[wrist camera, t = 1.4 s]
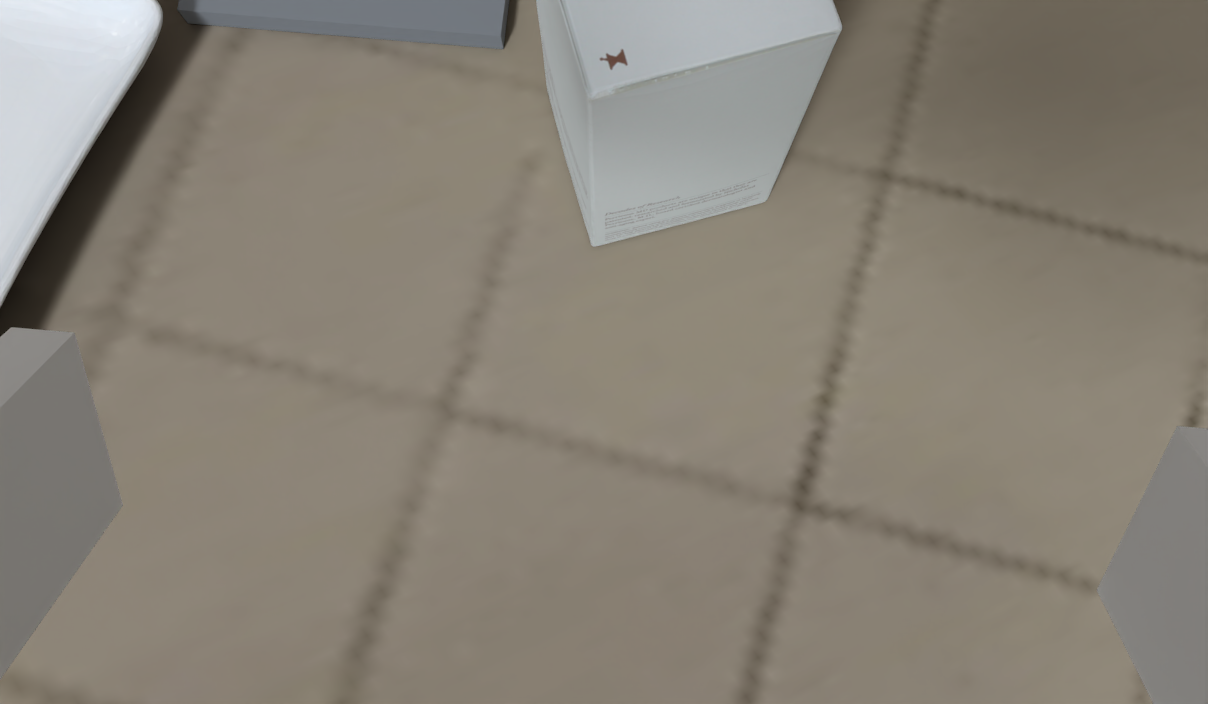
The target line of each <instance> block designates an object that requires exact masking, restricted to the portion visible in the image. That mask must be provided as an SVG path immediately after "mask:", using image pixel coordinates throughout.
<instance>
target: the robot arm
mask: <svg viewBox="0 0 1208 704" xmlns="http://www.w3.org/2000/svg"><path fill="white" fill-rule="evenodd" d="M122 506H123V504H122V500H121V497H120V493H119V489H118V486H117V482H116V479H115V475H114V472H113V468H112V464H111V461H110V457H109V454H108V450H107V447H106V443H105V440H104V436H103V432H102V429H101V425H100V422H99V418H98V415H97V411H96V407H95V404H94V400H93V397H92V393H91V390H90V386H89V383H88V379H87V375H86V372H85V368H84V365H83V361H82V358H81V354H80V351H79V347H78V343H77V340H76V336H75V333H73V332H61V331H49V330H38V329H26V328H14V327H11V328H10V329H9V330H8V331H6V332H5V333H4V334H3V335H2V336H1V337H0V679H1V678H2V676H3V675H4V673H5V672H6V671H7V669H8V668H9V666H10V665H11V663H12V662H13V661H14V659H15V658H16V656H17V655H18V654H19V652H20V651H21V649H22V648H23V646H24V645H25V644H26V642H27V641H28V639H29V638H30V637H31V635H32V634H33V632H34V631H35V629H36V628H37V627H38V625H39V624H40V622H41V621H42V619H43V618H44V617H45V615H46V614H47V612H48V611H49V610H50V608H51V607H52V605H53V604H54V602H55V601H56V600H57V598H58V597H59V595H60V594H61V593H62V591H63V590H64V588H65V587H66V585H67V584H68V583H69V581H70V580H71V578H72V577H73V575H74V574H75V573H76V571H77V570H78V568H79V567H80V566H81V564H82V563H83V561H84V560H85V558H86V557H87V556H88V554H89V553H90V551H91V550H92V549H93V547H94V546H95V544H96V543H97V541H98V540H99V539H100V537H101V536H102V534H103V533H104V531H105V530H106V529H107V527H108V526H109V524H110V523H111V522H112V520H113V519H114V517H115V516H116V514H117V513H118V512H119V510H120V509H121V507H122ZM1097 592H1098V594H1099V596H1100V598H1101V600H1102V602H1103V604H1104V606H1105V608H1106V610H1107V612H1108V614H1109V616H1110V618H1111V620H1112V622H1113V624H1114V626H1115V628H1116V630H1117V632H1118V634H1119V636H1120V638H1121V640H1122V642H1123V644H1124V646H1125V648H1126V650H1127V652H1128V654H1129V656H1130V658H1131V660H1132V662H1133V664H1134V666H1135V668H1136V670H1137V672H1138V674H1139V676H1140V678H1141V680H1142V682H1143V684H1144V686H1145V688H1146V690H1147V692H1148V694H1149V696H1150V698H1151V700H1152V702H1153V704H1208V429H1205V428H1193V427H1182V426H1177V428H1176V430H1175V432H1174V434H1173V436H1172V438H1171V440H1170V442H1169V444H1168V446H1167V448H1166V450H1165V452H1164V454H1163V456H1162V458H1161V460H1160V462H1159V464H1158V466H1157V468H1156V470H1155V472H1154V475H1153V477H1152V479H1151V481H1150V483H1149V485H1148V487H1147V489H1146V491H1145V493H1144V495H1143V497H1142V499H1141V501H1140V503H1139V505H1138V507H1137V509H1136V511H1135V513H1134V515H1133V517H1132V519H1131V521H1130V523H1129V525H1128V527H1127V529H1126V532H1125V534H1124V536H1123V538H1122V540H1121V542H1120V544H1119V546H1118V548H1117V550H1116V552H1115V554H1114V556H1113V558H1112V560H1111V562H1110V564H1109V566H1108V568H1107V570H1106V572H1105V574H1104V576H1103V578H1102V580H1101V582H1100V584H1099V586H1098V589H1097Z"/></svg>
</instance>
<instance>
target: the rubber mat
mask: <svg viewBox="0 0 1208 704" xmlns="http://www.w3.org/2000/svg"><path fill="white" fill-rule="evenodd" d="M508 7H509V0H179V3H178V8H177V10H178V11H179V13H180V14H181V15H182V17H183V18H184V19H185V20H186V22H187V23H190V24H202V25H215V26H227V27H239V28H251V29H264V30H276V31H288V32H300V33H312V34H325V35H337V36H349V37H361V38H374V39H386V40H398V41H410V42H423V43H435V44H447V45H459V46H472V47H484V48H496V49H503V48H504V40H505V32H506V23H507V15H508Z"/></svg>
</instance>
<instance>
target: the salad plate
mask: <svg viewBox="0 0 1208 704" xmlns="http://www.w3.org/2000/svg"><path fill="white" fill-rule="evenodd" d="M162 22H163V11H162V8H161V6H160V4H159V2H158V1H157V0H0V308H1V306H2V304H3V302H4V300H5V298H6V296H7V294H8V292H9V290H10V288H11V286H12V284H13V283H14V281H15V279H16V277H17V275H18V273H19V271H20V270H21V268H22V266H23V264H24V262H25V260H26V258H27V257H28V255H29V253H30V251H31V250H32V248H33V246H34V244H35V243H36V241H37V239H38V237H39V236H40V234H41V232H42V230H43V229H44V227H45V225H46V223H47V222H48V220H49V218H50V216H51V215H52V213H53V211H54V210H55V208H56V206H57V204H58V203H59V201H60V199H61V197H62V196H63V194H64V192H65V191H66V189H67V187H68V186H69V184H70V182H71V181H72V179H73V177H74V176H75V174H76V172H77V171H78V169H79V168H80V166H81V164H82V163H83V161H84V159H85V158H86V156H87V154H88V153H89V151H90V149H91V148H92V146H93V144H94V143H95V141H96V140H97V138H98V136H99V135H100V133H101V132H102V130H103V129H104V127H105V125H106V124H107V122H108V121H109V119H110V117H111V116H112V114H113V113H114V111H115V110H116V108H117V106H118V105H119V103H120V102H121V100H122V99H123V97H124V95H125V94H126V92H127V91H128V89H129V88H130V86H131V85H132V83H133V82H134V80H135V78H136V77H137V75H138V74H139V72H140V71H141V69H142V68H143V66H144V64H145V62H146V61H147V59H148V57H149V55H150V53H151V51H152V50H153V48H154V45H155V43H156V41H157V39H158V36H159V33H160V30H161V27H162Z"/></svg>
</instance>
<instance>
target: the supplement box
mask: <svg viewBox="0 0 1208 704" xmlns="http://www.w3.org/2000/svg"><path fill="white" fill-rule="evenodd" d="M536 3H537V10H538V17H539V25H540V32H541V40H542V47H543V56H544V66H545V75H546V83H547V90H548V94H549V98H550V102H551V106H552V110H553V114H554V118H555V121H556V125H557V129H558V132H559V136H560V140H561V144H562V147H563V151H564V155H565V158H566V162H567V165H568V168H569V172H570V175H571V178H572V182H573V185H574V188H575V192H576V195H577V198H578V202H579V205H580V208H581V212H582V215H583V218H584V222H585V225H586V228H587V231H588V235H589V238H590V242H591V245H592V246H594V247H595V246H599V245H604V244H608V243H611V242H615V241H619V240H623V239H627V238H631V237H635V236H638V235H642V234H646V233H649V232H654V231H658V230H662V229H665V228H669V227H673V226H676V225H681V224H685V223H689V222H692V221H696V220H700V219H703V218H707V217H711V216H715V215H719V214H722V213H726V212H729V211H733V210H738V209H742V208H745V207H748V206H752V205H756V204H760V203H763V202H765V201H767V199H768V197H769V195H770V193H771V190H772V188H773V186H774V183H775V181H776V179H777V177H778V174H779V172H780V170H781V168H782V165H783V163H784V160H785V158H786V156H787V153H788V151H789V149H790V147H791V144H792V142H793V140H794V137H795V135H796V133H797V130H798V128H799V126H800V123H801V121H802V119H803V116H804V114H805V112H806V109H807V107H808V105H809V103H810V100H811V98H812V96H813V93H814V91H815V89H816V86H817V84H818V82H819V79H820V77H821V75H822V73H823V71H824V68H825V66H826V63H827V61H828V59H829V57H830V54H831V52H832V49H833V47H834V45H835V43H836V41H837V38H838V36H839V34H840V32H841V30H842V24H841V21H840V18H839V15H838V13H837V10H836V7H835V4H834V2H833V0H536Z"/></svg>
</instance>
